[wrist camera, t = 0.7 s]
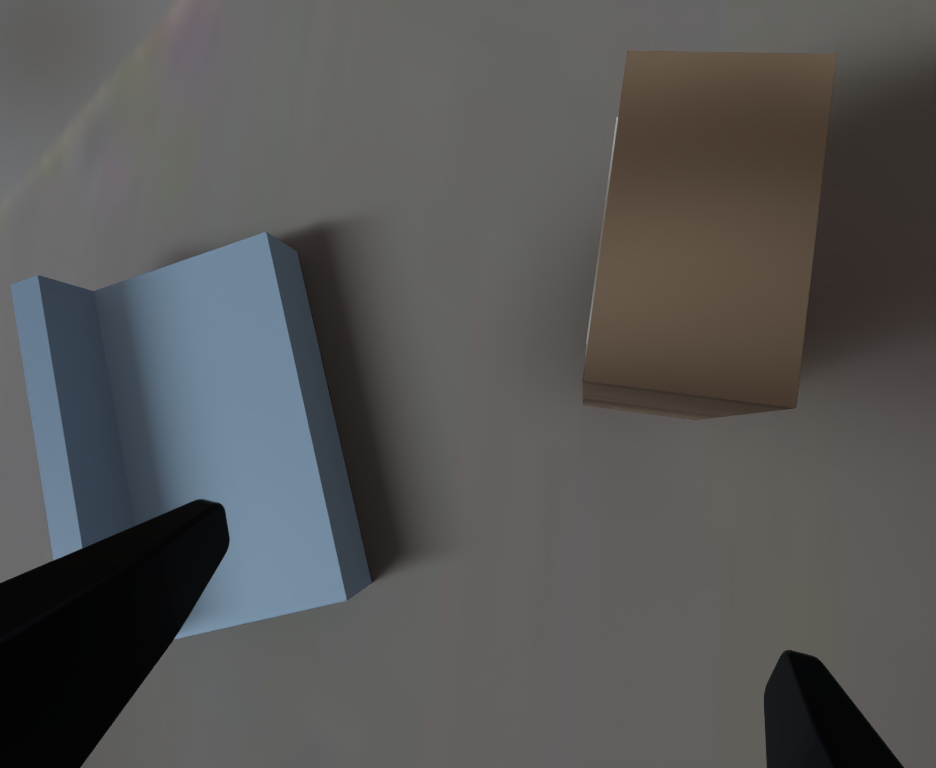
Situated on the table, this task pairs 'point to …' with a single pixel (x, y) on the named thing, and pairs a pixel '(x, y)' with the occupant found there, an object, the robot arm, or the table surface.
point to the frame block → (708, 233)
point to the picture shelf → (196, 423)
